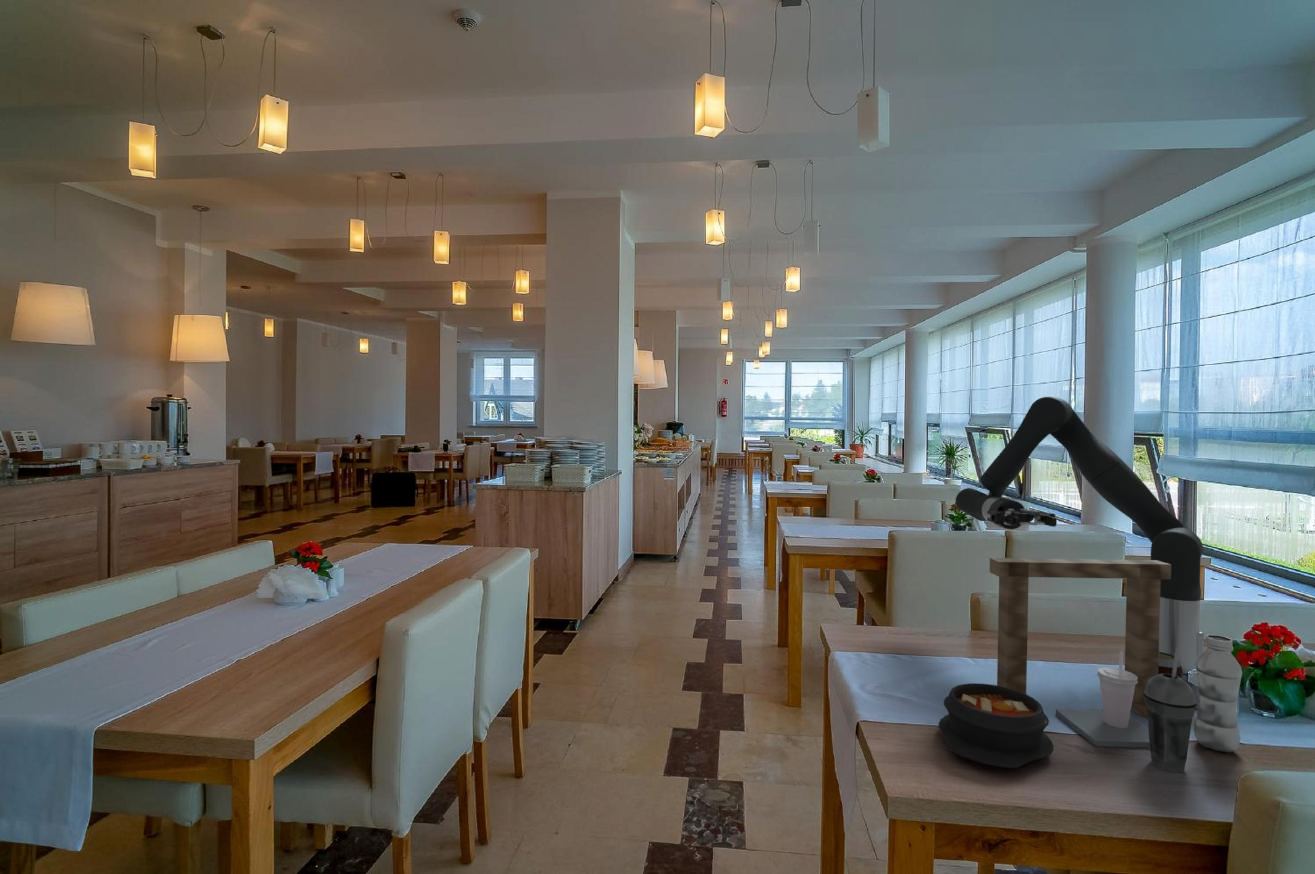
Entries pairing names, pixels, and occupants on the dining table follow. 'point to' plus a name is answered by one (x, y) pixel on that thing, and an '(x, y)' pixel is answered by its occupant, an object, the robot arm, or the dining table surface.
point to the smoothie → (1117, 694)
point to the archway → (1137, 572)
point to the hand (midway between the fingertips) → (1035, 522)
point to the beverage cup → (1169, 719)
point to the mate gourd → (1168, 664)
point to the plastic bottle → (1218, 695)
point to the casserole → (995, 725)
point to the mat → (1105, 729)
